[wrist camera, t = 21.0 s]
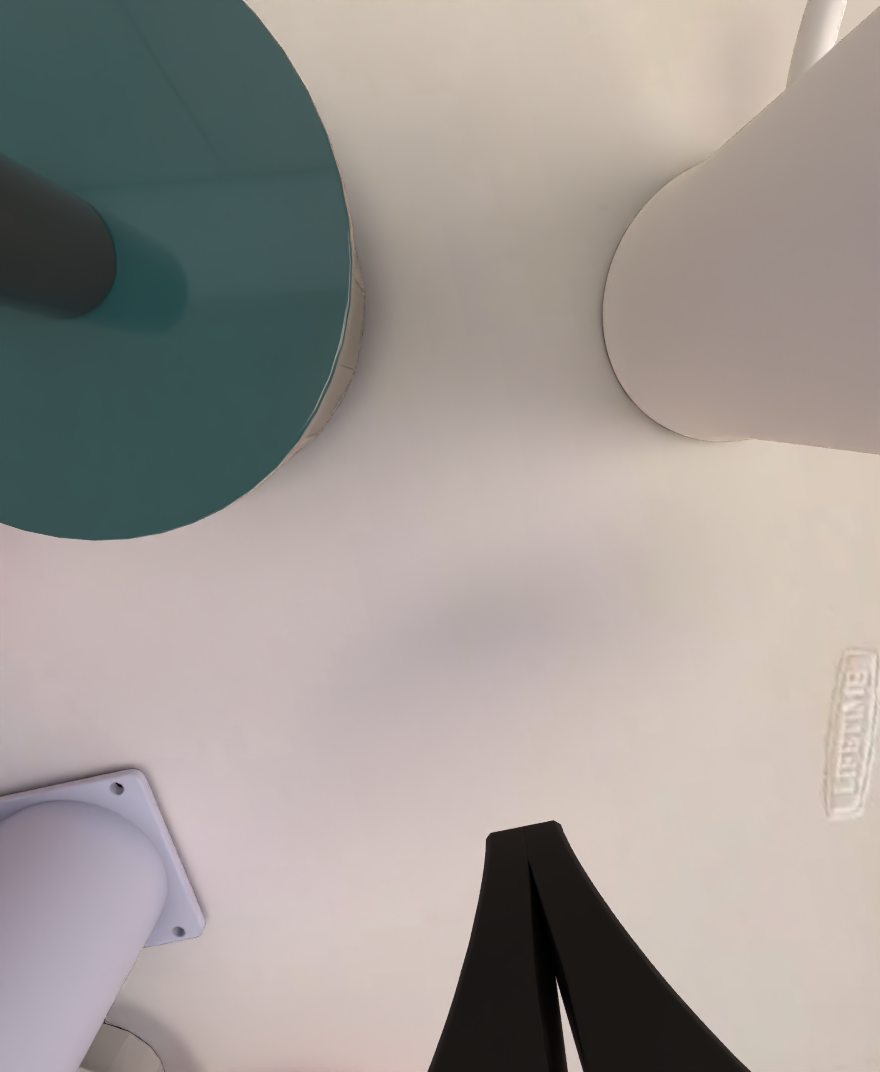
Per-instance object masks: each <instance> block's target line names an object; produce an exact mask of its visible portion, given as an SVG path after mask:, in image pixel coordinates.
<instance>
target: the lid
mask: <svg viewBox="0 0 880 1072" xmlns="http://www.w3.org/2000/svg"><path fill="white" fill-rule="evenodd" d="M355 269H356V266H355V252H354V239H353V226H352V221H351V216H350V210H349V205H348V200H347V195H346V190H345V185H344V182H343V178H342V175H341V172H340V169H339V166H338V163H337V159H336V156H335V153H334V150H333V147H332V144H331V141H330V139H329V136H328V134H327V132H326V130H325V127H324V125H323V123H322V121H321V118H320V116H319V114H318V112H317V110H316V107H315V105H314V103H313V101H312V99H311V96H310V94H309V92H308V90H307V88H306V87H305V85H304V83H303V82H302V80H301V78H300V77H299V75H298V73H297V72H296V70H295V68H294V67H293V65H292V63H291V62H290V60H289V58H288V57H287V55H286V53H285V52H284V50H283V49H282V47H281V46H280V45H279V43H278V42H277V41H276V40H275V38H274V37H273V36H272V34H271V33H270V32H269V30H268V29H267V28H266V27H265V25H264V24H263V23H262V21H261V20H260V19H259V17H258V16H257V15H256V14H255V12H254V11H253V10H252V9H251V8H250V7H249V6H248V5H247V4H246V3H245V2H244V1H243V0H0V523H3V524H6V525H9V526H12V527H15V528H18V529H21V530H25V531H29V532H34V533H39V534H44V535H49V536H54V537H58V538H69V539H81V540H93V541H97V540H120V539H132V538H138V537H144V536H149V535H155V534H161V533H164V532H167V531H171V530H174V529H177V528H180V527H183V526H186V525H189V524H192V523H195V522H197V521H199V520H201V519H203V518H205V517H207V516H209V515H212V514H214V513H216V512H218V511H220V510H222V509H224V508H226V507H228V506H230V505H231V504H233V503H234V502H236V501H237V500H239V499H240V498H242V497H243V496H245V495H246V494H248V493H249V492H251V491H252V490H254V489H255V488H257V487H258V486H259V485H260V484H262V483H263V482H264V481H265V480H266V479H267V478H268V477H269V476H271V475H272V474H273V473H274V472H275V471H276V470H277V469H278V468H280V467H281V466H282V465H283V463H284V462H285V461H286V460H287V459H288V458H289V456H290V455H291V454H292V453H293V452H294V450H295V449H296V448H297V447H298V446H299V445H300V443H301V442H302V441H303V440H304V438H305V437H306V435H307V433H308V432H309V430H310V429H311V427H312V426H313V424H314V422H315V421H316V419H317V418H318V416H319V415H320V413H321V411H322V409H323V407H324V405H325V403H326V401H327V398H328V396H329V394H330V392H331V390H332V388H333V385H334V383H335V381H336V379H337V376H338V372H339V369H340V366H341V363H342V359H343V356H344V353H345V350H346V346H347V343H348V337H349V331H350V325H351V319H352V314H353V308H354V290H355Z"/></svg>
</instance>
